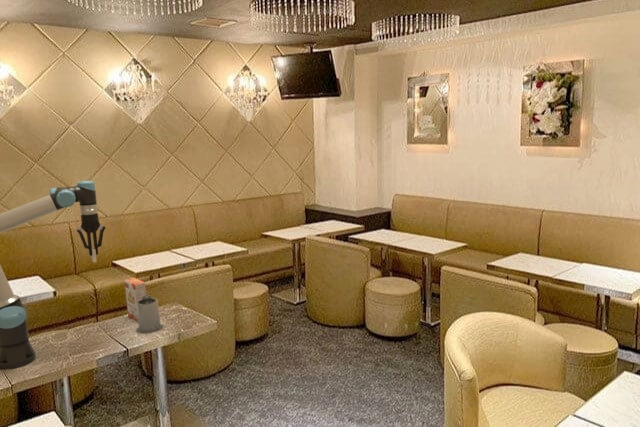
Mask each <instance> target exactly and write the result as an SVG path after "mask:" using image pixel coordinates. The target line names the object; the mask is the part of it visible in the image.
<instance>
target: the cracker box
mask: <svg viewBox="0 0 640 427" xmlns="http://www.w3.org/2000/svg"><path fill="white" fill-rule="evenodd" d="M146 286H147V285H146V282H144V281H142V280H140V279H138V278H136V277H131V278H127V279H124V289H125V297H126V298H125V299H126V308H127V316H128V317H129V318H130V319H133V320H135V321H136V322H138V316H137V305H136V303H137V301H139V300H142V297H143V296H145V295H147V287H146Z"/></svg>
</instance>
